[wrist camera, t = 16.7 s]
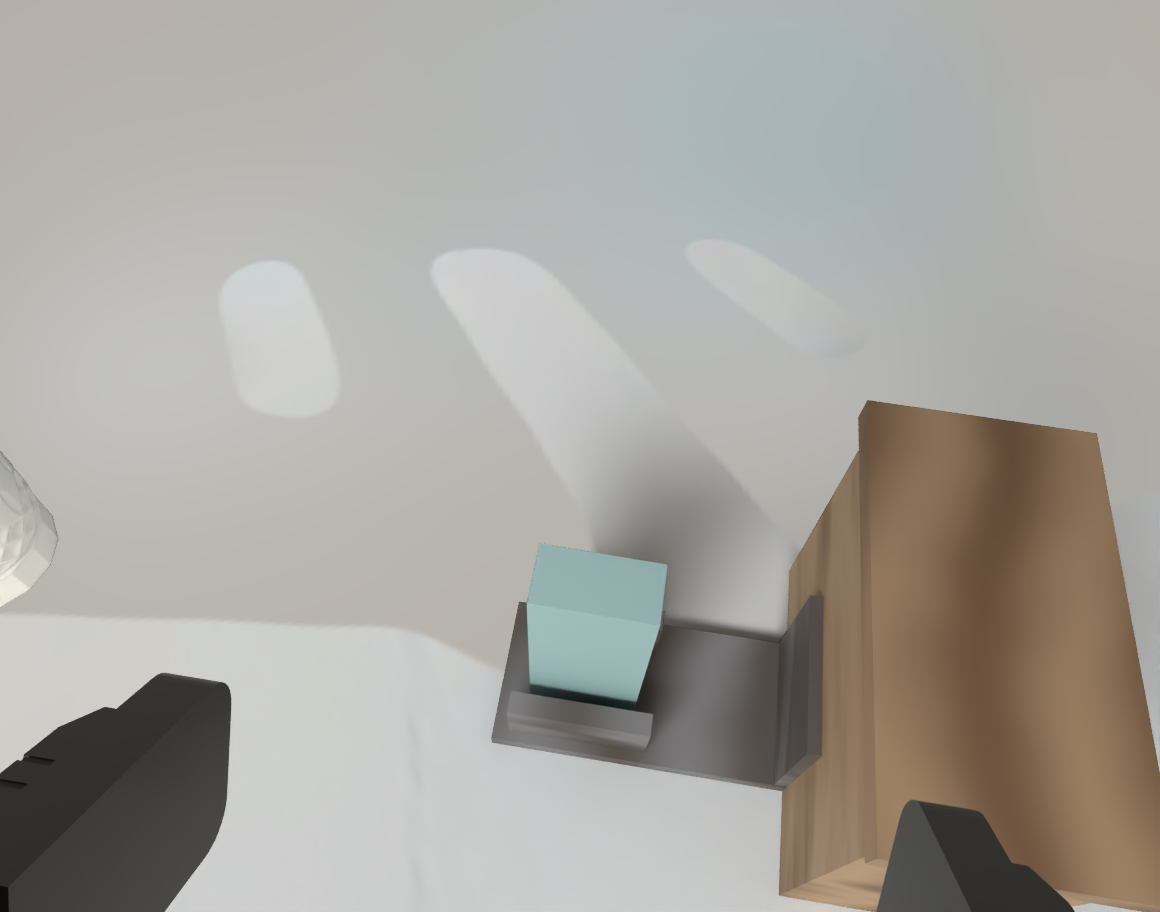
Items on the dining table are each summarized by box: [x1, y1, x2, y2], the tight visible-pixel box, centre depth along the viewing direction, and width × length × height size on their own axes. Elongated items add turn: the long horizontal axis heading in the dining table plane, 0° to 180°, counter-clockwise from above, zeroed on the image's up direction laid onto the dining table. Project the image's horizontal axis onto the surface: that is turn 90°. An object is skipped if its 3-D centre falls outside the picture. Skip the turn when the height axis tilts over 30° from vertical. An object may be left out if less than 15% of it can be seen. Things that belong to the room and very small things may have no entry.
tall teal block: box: [527, 543, 668, 711], centre depth 39 cm, size 5×3×12 cm
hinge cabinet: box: [491, 400, 1160, 912], centre depth 37 cm, size 22×17×15 cm
